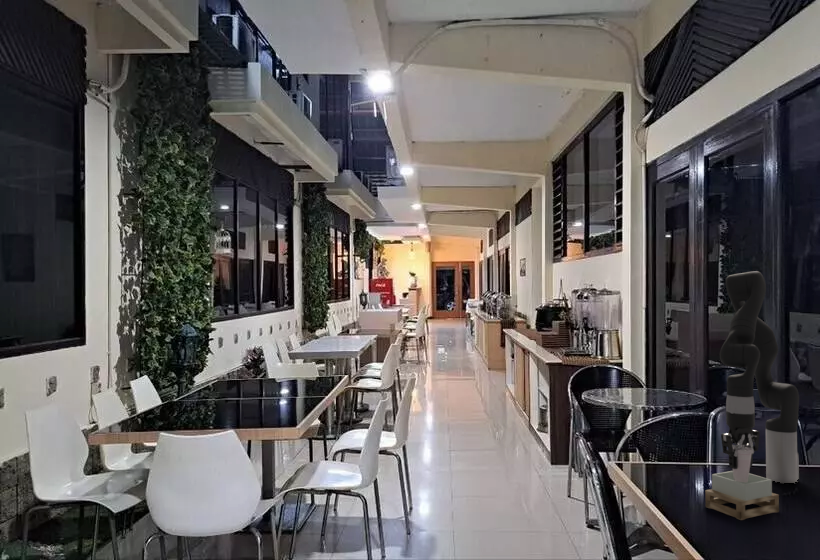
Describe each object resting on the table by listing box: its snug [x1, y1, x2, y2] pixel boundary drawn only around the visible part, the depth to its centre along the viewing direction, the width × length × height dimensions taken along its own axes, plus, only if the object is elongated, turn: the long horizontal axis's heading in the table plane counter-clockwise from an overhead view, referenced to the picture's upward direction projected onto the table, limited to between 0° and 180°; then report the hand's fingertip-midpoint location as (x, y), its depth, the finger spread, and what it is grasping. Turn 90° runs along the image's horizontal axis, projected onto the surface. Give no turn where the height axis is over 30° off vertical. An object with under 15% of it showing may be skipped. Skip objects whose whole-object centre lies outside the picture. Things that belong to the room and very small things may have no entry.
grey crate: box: [711, 470, 773, 501], centre depth 185 cm, size 11×11×5 cm
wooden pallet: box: [704, 488, 780, 521], centre depth 185 cm, size 16×12×5 cm
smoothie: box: [731, 445, 753, 482], centre depth 186 cm, size 6×6×14 cm
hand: (740, 466), depth 186 cm, fingers closed on smoothie, 5 cm apart
